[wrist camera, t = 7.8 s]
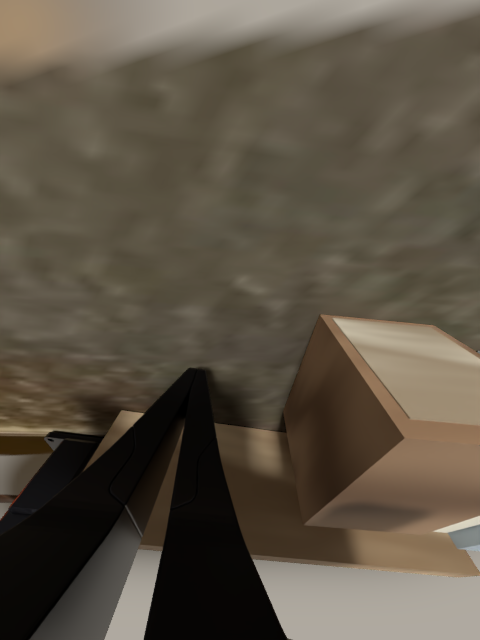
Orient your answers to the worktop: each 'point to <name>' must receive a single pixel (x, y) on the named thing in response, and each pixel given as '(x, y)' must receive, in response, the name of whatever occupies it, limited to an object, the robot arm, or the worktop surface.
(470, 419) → the brown wooden block
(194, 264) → the worktop surface
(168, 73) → the worktop surface
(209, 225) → the worktop surface
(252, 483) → the shelf wall
